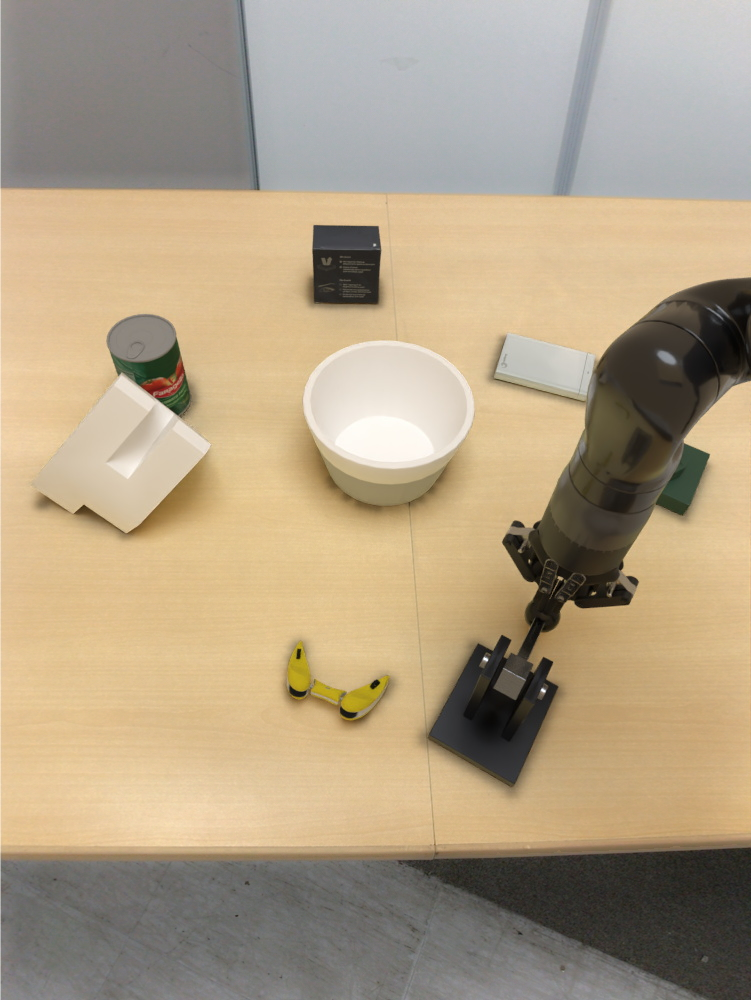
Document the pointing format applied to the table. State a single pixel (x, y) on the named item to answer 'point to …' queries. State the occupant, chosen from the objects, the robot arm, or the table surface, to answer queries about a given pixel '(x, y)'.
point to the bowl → (387, 418)
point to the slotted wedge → (122, 457)
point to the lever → (525, 651)
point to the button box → (684, 480)
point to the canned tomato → (151, 358)
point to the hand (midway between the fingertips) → (546, 605)
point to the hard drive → (545, 366)
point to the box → (346, 263)
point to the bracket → (494, 714)
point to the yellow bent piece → (351, 703)
